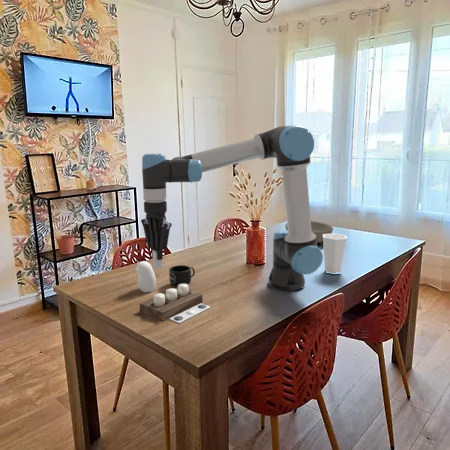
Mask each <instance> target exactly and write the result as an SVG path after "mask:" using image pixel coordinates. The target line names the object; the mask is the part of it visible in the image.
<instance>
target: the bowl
mask: <svg viewBox="0 0 450 450" xmlns="http://www.w3.org/2000/svg"><path fill="white" fill-rule="evenodd" d="M284 226H285V230H288V225H287V222H286V224H285V225H284ZM311 231H312V233H314V234H315V235H316V240H317V243H320V244H323V243H322V242H323V234H331V233H333V231H334V227H333V226H332V225H330V224H328V223H324V222H318V221H313V220H311Z"/></svg>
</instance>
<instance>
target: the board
mask: <svg viewBox="0 0 450 450" xmlns="http://www.w3.org/2000/svg"><path fill="white" fill-rule="evenodd" d="M175 289H177V300H176V301H174V302H169V301H166V292H163V294H164V295H165V306H162V307H160V308H157V307H155V306H154V301H153V297H152V298H149V299H147V300H144V301H142V302H140V303H139V312H142V313H143V314H145V315H149V316H151V317H153V318H155V319H158V320H160V321H165V320H168V319H169V318H171V317H174V316H176V315H178V314H180V313H182V312H184V311H186V310H188V309H190V308H192V307H194V306H196V305H198V304H200V303H201V304H202V303H203V293H200V292H197V291H193V290H191V289H189V295H187V296H185V297H181V296H179V295H178V287H176V288H175Z"/></svg>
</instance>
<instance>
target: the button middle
mask: <svg viewBox="0 0 450 450" xmlns="http://www.w3.org/2000/svg"><path fill="white" fill-rule="evenodd" d="M165 293H166V301H169V302H174V301H176V300H177V289H176V288H173V287H172V288H166V290H165Z"/></svg>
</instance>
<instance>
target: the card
mask: <svg viewBox="0 0 450 450" xmlns="http://www.w3.org/2000/svg"><path fill="white" fill-rule="evenodd" d="M211 308H212V307H211V306H209V305H206V304H204V303H202V302H201V303H199V304H196V305H194V306H192V307H190V308H188V309H186V310H184V311H182V312H180V313H178V314H176V315H174V316H172V317H169V318H168V319H169V320H170V321H172V322H175V323H178V324H181V323H184V322H186V321H188V320H189V319H191V318H193V317H195V316H197V315H199V314H202V313H203V312H205V311H207V310H209V309H211Z"/></svg>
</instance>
